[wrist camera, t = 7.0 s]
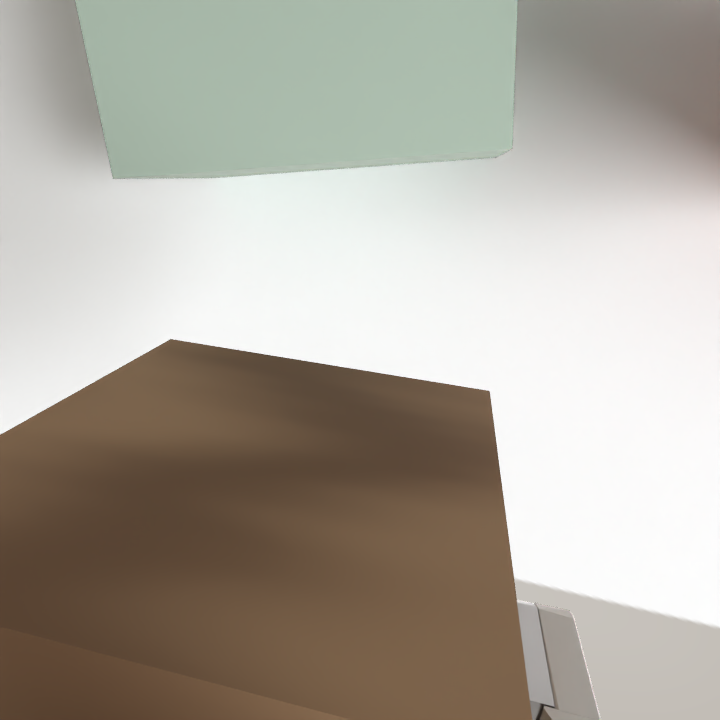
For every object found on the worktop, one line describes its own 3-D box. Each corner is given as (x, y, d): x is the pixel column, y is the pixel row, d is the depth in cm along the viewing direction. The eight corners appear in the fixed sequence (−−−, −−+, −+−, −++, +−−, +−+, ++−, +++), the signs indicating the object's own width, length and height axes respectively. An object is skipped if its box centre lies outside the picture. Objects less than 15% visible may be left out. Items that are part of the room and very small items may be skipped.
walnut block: (489, 391, 9) (539, 769, 3) (437, 640, 11) (411, 1125, 5) (170, 339, 10) (-231, 564, 4) (181, 580, 12) (-70, 942, 6)
